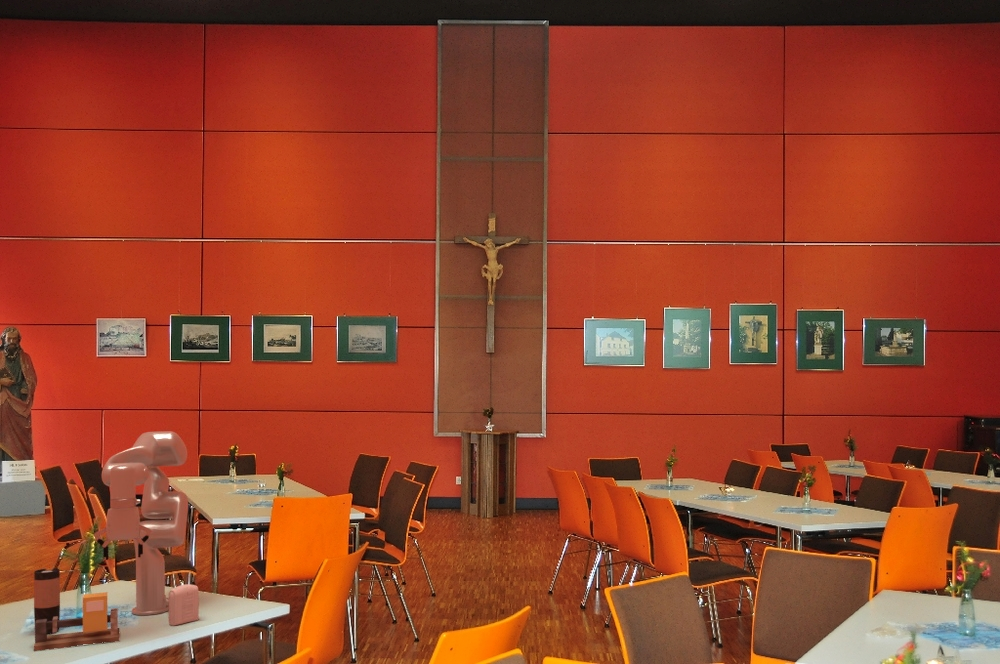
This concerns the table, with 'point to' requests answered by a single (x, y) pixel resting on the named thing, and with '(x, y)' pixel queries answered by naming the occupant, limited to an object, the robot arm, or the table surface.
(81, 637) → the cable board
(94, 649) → the table surface
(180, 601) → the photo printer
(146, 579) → the robot arm
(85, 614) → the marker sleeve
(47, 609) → the travel mug
